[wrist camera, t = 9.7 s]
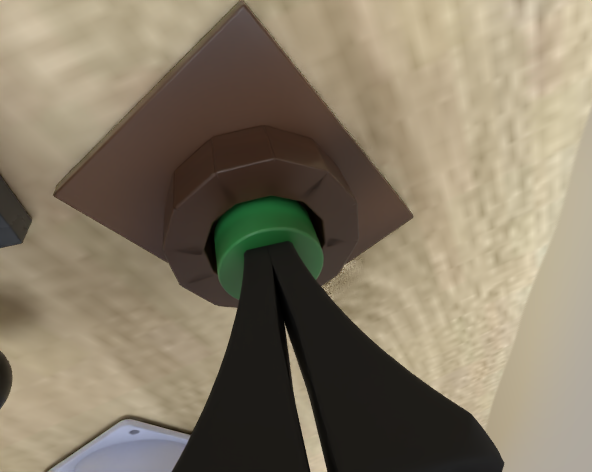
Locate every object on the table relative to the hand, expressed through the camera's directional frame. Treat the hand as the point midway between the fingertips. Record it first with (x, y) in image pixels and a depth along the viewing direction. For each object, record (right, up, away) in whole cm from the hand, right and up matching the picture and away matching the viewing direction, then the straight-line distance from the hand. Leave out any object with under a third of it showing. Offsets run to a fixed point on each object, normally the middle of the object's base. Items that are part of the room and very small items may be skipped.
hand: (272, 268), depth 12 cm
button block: (-1, +2, +3) cm, 4 cm away
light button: (0, +1, +1) cm, 2 cm away
